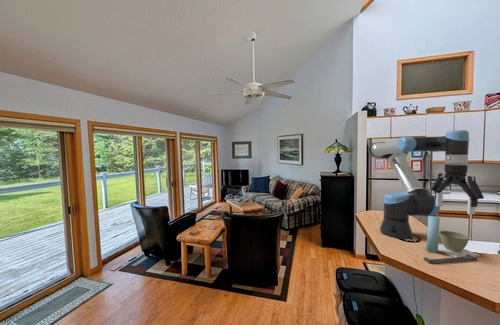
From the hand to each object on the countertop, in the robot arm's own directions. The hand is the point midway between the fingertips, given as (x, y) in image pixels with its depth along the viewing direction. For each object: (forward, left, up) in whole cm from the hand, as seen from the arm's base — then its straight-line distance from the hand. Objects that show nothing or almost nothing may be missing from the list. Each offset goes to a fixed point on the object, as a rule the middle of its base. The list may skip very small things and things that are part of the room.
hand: (453, 209), depth 97 cm
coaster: (0, 0, -19) cm, 19 cm away
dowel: (-1, -10, -19) cm, 22 cm away
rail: (+8, -11, -19) cm, 24 cm away
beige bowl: (0, 0, -19) cm, 19 cm away
